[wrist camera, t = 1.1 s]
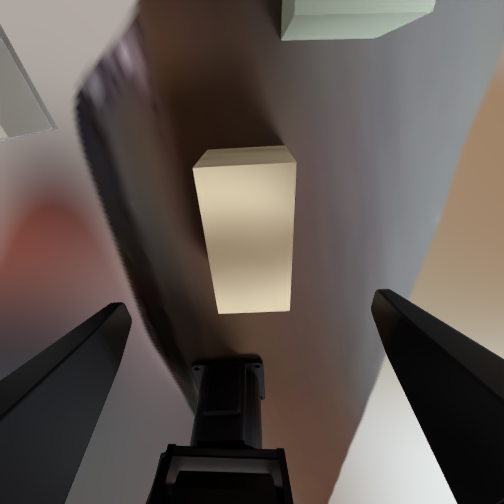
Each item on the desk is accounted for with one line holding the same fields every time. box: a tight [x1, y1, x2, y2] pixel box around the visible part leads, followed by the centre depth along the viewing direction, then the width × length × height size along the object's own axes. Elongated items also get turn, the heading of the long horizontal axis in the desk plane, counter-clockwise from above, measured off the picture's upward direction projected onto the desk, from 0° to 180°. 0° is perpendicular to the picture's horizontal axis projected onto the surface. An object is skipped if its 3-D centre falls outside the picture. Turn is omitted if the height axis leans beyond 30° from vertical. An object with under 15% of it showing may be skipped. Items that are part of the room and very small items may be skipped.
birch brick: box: [193, 145, 296, 314], centre depth 13 cm, size 8×4×4 cm, turn 3°
